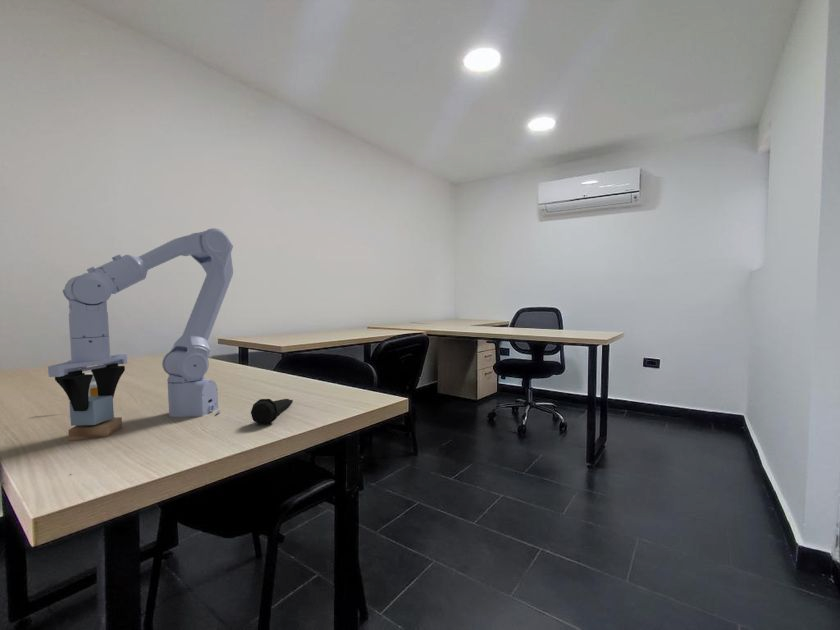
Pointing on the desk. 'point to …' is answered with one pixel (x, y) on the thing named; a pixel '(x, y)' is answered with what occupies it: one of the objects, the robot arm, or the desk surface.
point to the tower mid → (95, 429)
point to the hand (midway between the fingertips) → (93, 406)
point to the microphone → (268, 410)
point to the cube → (93, 411)
